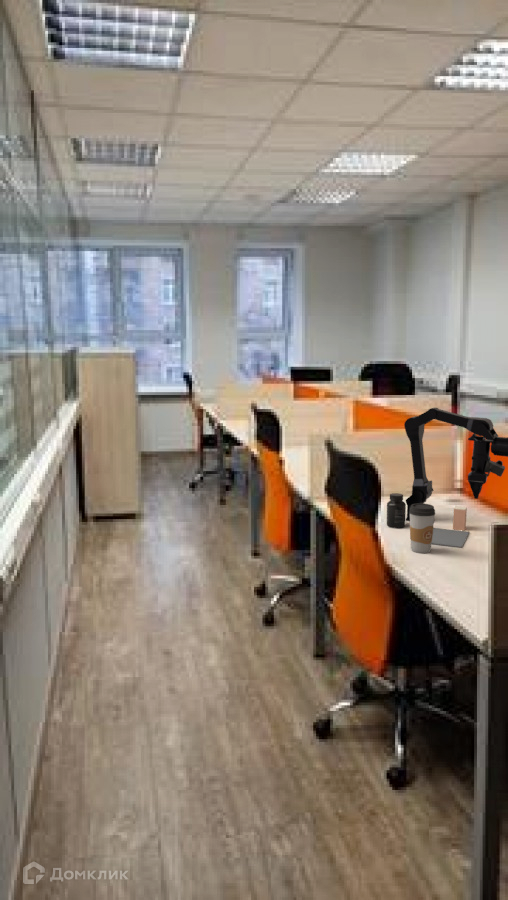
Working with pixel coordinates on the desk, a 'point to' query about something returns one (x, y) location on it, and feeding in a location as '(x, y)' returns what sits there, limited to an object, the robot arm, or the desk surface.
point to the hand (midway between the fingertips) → (477, 495)
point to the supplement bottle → (396, 511)
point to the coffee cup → (421, 527)
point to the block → (459, 518)
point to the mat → (449, 537)
